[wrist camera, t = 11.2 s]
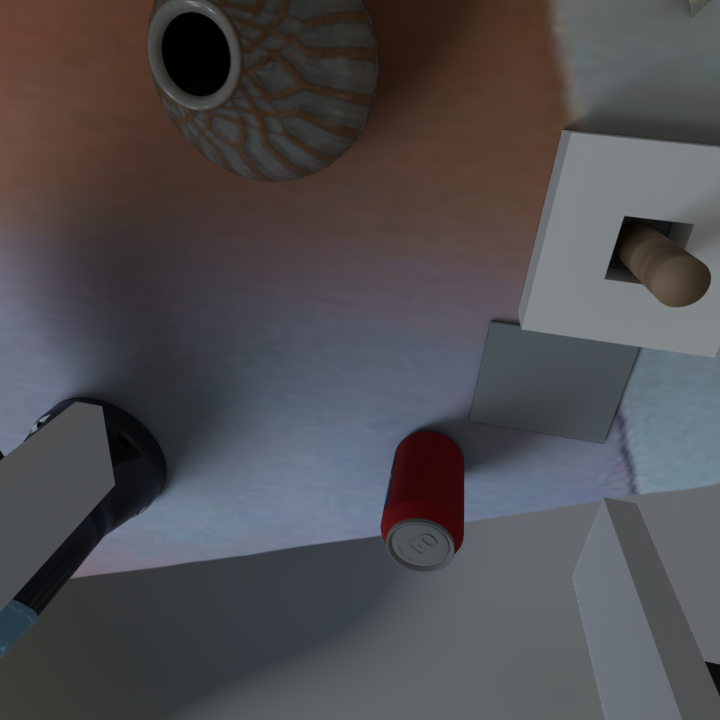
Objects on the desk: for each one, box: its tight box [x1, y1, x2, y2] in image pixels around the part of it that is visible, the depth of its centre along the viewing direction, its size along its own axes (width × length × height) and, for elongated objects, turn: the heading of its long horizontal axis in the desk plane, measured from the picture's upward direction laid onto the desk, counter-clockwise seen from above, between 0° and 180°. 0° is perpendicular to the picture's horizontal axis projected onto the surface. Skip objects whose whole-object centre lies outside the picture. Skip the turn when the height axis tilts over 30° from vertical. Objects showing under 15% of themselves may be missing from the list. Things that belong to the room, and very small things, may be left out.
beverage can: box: [381, 432, 464, 572], centre depth 46 cm, size 7×7×12 cm
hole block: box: [518, 130, 720, 358], centre depth 37 cm, size 14×14×4 cm
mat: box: [469, 321, 640, 444], centre depth 45 cm, size 12×10×1 cm
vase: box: [147, 0, 380, 182], centre depth 30 cm, size 13×13×18 cm
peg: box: [613, 222, 711, 308], centre depth 35 cm, size 3×3×10 cm
